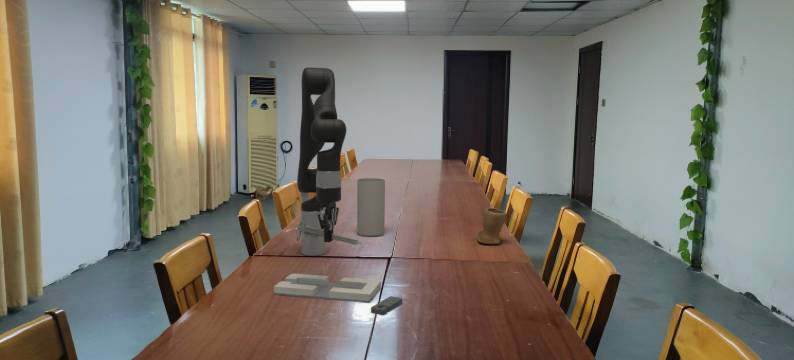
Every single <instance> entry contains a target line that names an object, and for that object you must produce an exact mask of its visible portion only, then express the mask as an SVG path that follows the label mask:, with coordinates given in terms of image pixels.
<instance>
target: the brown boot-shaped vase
mask: <svg viewBox="0 0 794 360" xmlns="http://www.w3.org/2000/svg"><path fill="white" fill-rule="evenodd" d="M506 217H507V214H506V212H505V211H504V210H501V209H500V208H497V207H487V208H485V209H484V211H483V216H482V225H483V230H481V231H477V232H476V235H475V236H476V238H477V240H478V242H479V243H481V244H487V245H498V244H501V237H500V232H501V230H502V228H503V226H504V224H505V222H506V219H507V218H506Z"/></svg>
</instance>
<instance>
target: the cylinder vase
mask: <svg viewBox="0 0 794 360" xmlns="http://www.w3.org/2000/svg"><path fill="white" fill-rule="evenodd" d="M356 180H357V182H356V183H357V184H356V186H357V188H356V189H357V191H356V193H357V194H356V195H357V196H356V197H357V198H356V202H357V203H356V233H357V235H358V236H361V237H365V238H366V237H369V238H371V237H372V238H373V237H374V238H375V237H380V236H383V235H384V234H385V222H386V220H385V215H386V214H385V212H386V210H385V208H386V207H385V204H386V203H385V202H386V199H385V198H386V195H385V194H386V180H385V179H384V178H376V177H375V178H373V177H369V178H368V177H367V178H366V177H365V178H357V179H356Z"/></svg>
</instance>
